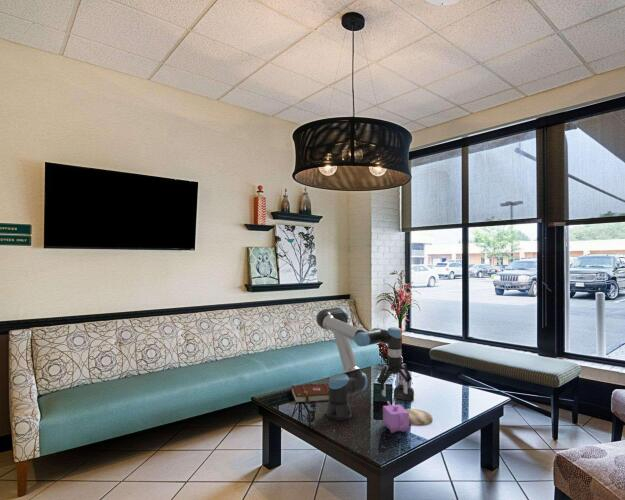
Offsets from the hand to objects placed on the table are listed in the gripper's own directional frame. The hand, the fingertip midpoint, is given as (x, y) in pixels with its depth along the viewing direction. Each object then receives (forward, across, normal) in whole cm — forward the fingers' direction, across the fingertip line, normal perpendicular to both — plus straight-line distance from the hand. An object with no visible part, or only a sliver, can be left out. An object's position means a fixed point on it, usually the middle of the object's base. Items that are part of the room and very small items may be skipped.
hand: (394, 394), depth 212 cm
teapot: (+19, 0, 0) cm, 19 cm away
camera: (+19, +28, +37) cm, 50 cm away
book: (+19, -26, +60) cm, 68 cm away
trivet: (+18, +18, +8) cm, 27 cm away
